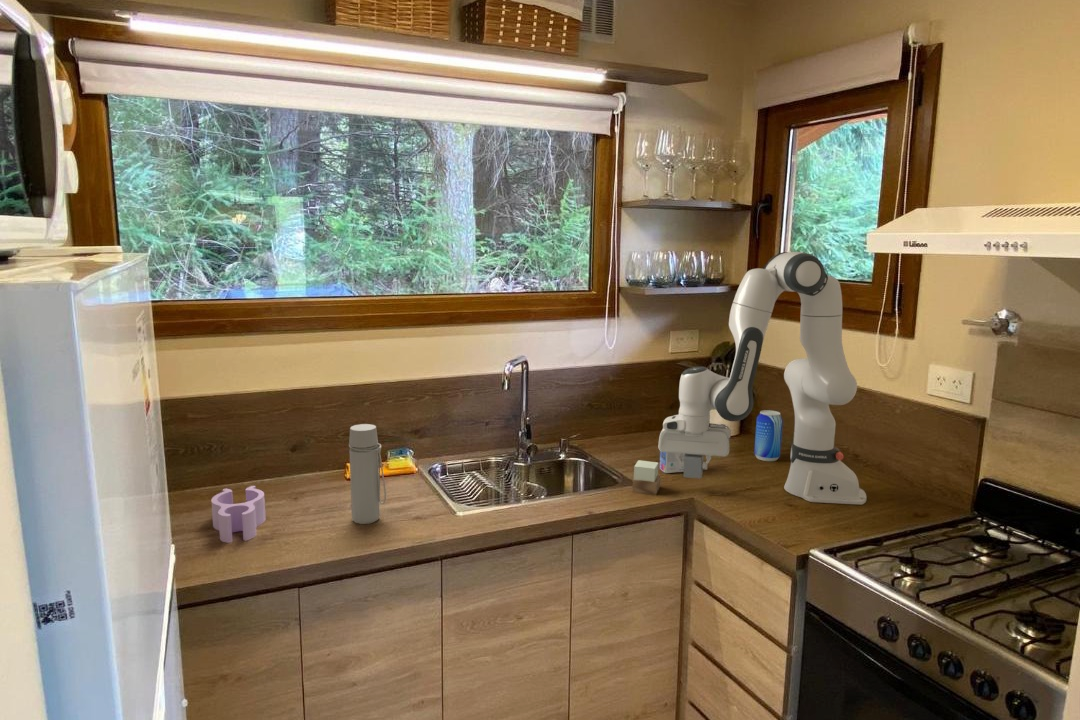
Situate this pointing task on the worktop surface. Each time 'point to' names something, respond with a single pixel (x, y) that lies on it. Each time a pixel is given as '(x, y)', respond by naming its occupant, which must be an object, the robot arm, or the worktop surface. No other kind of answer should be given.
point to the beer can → (768, 435)
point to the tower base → (646, 486)
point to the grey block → (693, 466)
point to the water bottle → (365, 473)
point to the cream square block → (646, 471)
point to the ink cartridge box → (670, 462)
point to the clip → (238, 513)
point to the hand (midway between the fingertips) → (693, 467)
